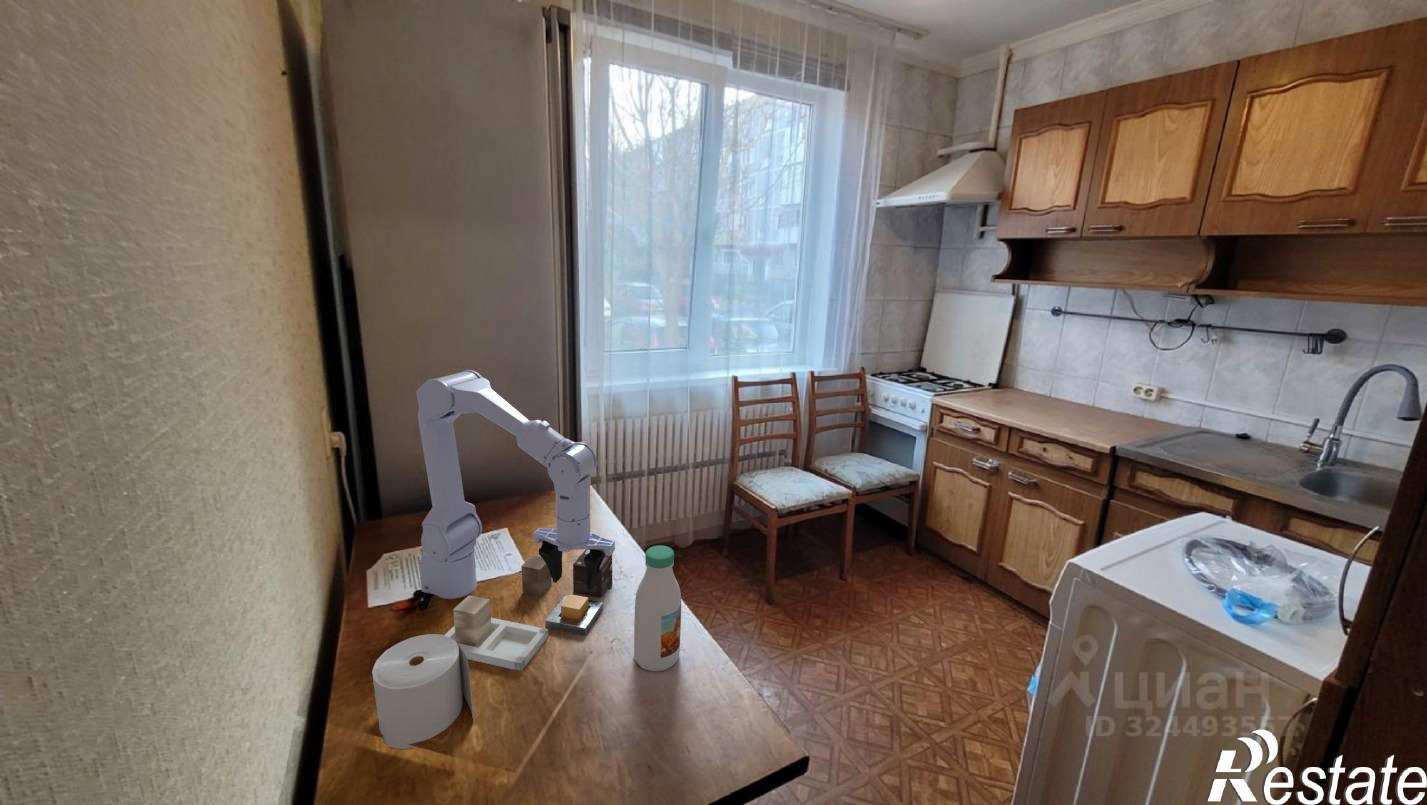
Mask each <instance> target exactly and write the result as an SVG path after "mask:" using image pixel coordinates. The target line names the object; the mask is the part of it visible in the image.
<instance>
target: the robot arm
mask: <svg viewBox="0 0 1427 805" xmlns="http://www.w3.org/2000/svg"><path fill="white" fill-rule="evenodd" d="M415 392H416V398H417V399H416V400H417V404H418V409H417V410H418V411H417V420H418V425H419V426H418V427H419V432H420V433H419V434H420V440H421V444H422V445H421V446H422V449H423V450H422V451H423V458H424V462H425V468H426V469H425V470H426V474H427V482H428V487H429V493H430V500H431V504H432V506H431V509H430V510H429V512H428V514H427V515H426V516H425V518H424V520H423V521H422V524H421V526H422V534H421V539H420V543H421V548H422V550H423V554H422V556H421V558H420V562H419V566H418V567H419V578H420V588H421V592H423V593H427V594H432V595H435V596H437V597H439V598H440V599H445V600H446V599H448V600H453V599H458V598H463V597H466V596H469V594H471V593H472V592H474V591H475V589H476V588H477V585H478V583H477V570H476V569H477V568H476V567H477V566H476V558H475V557H476V554H475V546H476V545H477V539H478V538H479V537H480V536H481V534H482V532H483V525H482V521H481V520H480V517H479V516H478V514H477V511H476V506H475V505H474V504H473V503H470V502H468V501H466V500H465V494H464V489H463V488H464V487H463V481H462V474H461V467H460V462H459V461H460V460H459V454H458V447H457V440H456V433H455V426H454V422H455V421H456V420H457V419H458V418H459V417H460V416H461V415H464V414H466V415H467V414H479V415H481V416H482V417H485V419H487V420H489V421H491V422H492V423H493V424H495V425H497V426H499V427H501V428H502V429H503V430H505V431H507V432H508V433H510V434H512V435H513V436H515V438H516V444H517V447H518V448H519V449H521V451H524V453H526V454H528V455H529V456H531V457H532V458H533V459H534V460H536V461H538V462H539V463H540V464H541V465H543V466H544V467H546V469H547V474H548V476H549V478H550V480H551V481H552V483H553V485H554V486H553V487H554V488H553V490H554V492H555V512H556V514H555V520H556V525H555V526H556V528H541V527H537V529H536V530H535V531H534V532H533V535H532V536H533V537H532V538H533V543H534V544H540V543H541V546H540V547H539V549H538V555H539V557H542V558H543V560H544V561H545V563H546V565H547V567H548V569H549V571H550V574H551V581H552V583H555V584H556V583H558V582H559V581H560V579H561V578H562V577H563V552H564V553H569V552H570V551H575V550H576V551H577V550H590V552H589V553H588V554H587V555H586V557H585V558H584V562H585V566H586V571H587V588H588V589H592V588H593V587H594V585H595V584H596V579H597V575H598V571H599V568H600V566H601V563H602V561H603V559H604V557H605V555H608V556H611V554H612V555H613V553H614V551H615V550H616V549H615V547H616V543H615V542H616V541H615V540H613V539H609V538H606V537H604V536H602V535H599V534H596V533H594V532H591V475H590V474H591V473H592V472H593V471H594V470H595V468H596V466H597V457H596V456H597V455H596V454H595V452H594V451H593V449H592V448H591V447H590V446H589V445H588V444H587V443H586V442H581V441H579V442H578V441H577V442H575V441H573V440H570V439H569V438H566V437H564V436H563V435H562V434H561V433H560V432H557V430H555V429H553V428H552V427H550V426H551V424H550V423H549V422H548V421H546V420H541V419H534V420H530V419H528V418H527V417H526V416H524V415H523V413H522V412H520V411H519V410H518V409H516V408H515V407H513V405H512V404H510V403H509V402H508V401H507V400H506V399H504V398H503V397H502V396H501V395H499V394H498V393H497V392H496V391H494V390H493V388H492V387H491V383H490V381H489V380H488V379H487V378H485V377H483V376H482V375H481V374H480V373H479V372H477V371H475V370H472V369H466V370H462V371H461V372H458V373H454V374H453V373H452V374H449V375H446V376H445V375H444V376H442V377H441V376H440V377H438V378H429V379H428V380H426V381H425V382H424V383H422V385H420V387H418V388H417V390H415Z"/></svg>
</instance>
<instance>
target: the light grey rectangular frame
mask: <svg viewBox="0 0 1427 805" xmlns="http://www.w3.org/2000/svg"><path fill="white" fill-rule="evenodd" d="M491 627H492V634H491V635H490V636H489V637H488V638H487V639H486V640H485V641H484V642H483V644H482V645H481V646H480V647H479V648H477V647H473V646H468V645H464V644H459V643H457V644H458V645H459V646H460V647H461V648H462V650H463V651H464V652H465V656H466V657H467V660H468V661H474V662H479V663H483V664H487V665H492V666H496V667H499V668H506V669H510V670H514V671H519V672H522V671H523V670H524V669H525V668H526V667H527V664H529V663H530V662H531V660H532V658H533V657H534V656H535V655H536V653H537V652H538V651H539V650H540V648H541V647H542V646H543V644H544V643H545V642H546V640H547V639H548V638H549V628H544V627H539V626H533V625H529V624H524V623H520V622H514V621H509V620H504V619H500V618H494V617H491ZM444 636H448V637H450V638H452V639H453V640H454V641H455V642H456V636H455V624H454V625H453V626H452V627H451V628H450V629H449V630H448V631H447V632H446V633H445V634H444Z"/></svg>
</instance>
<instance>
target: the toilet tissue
mask: <svg viewBox="0 0 1427 805" xmlns="http://www.w3.org/2000/svg"><path fill="white" fill-rule="evenodd" d="M444 635H445V634H444ZM444 635H443V634H437V633H434V634H433V633H432V634H431V633H430V634H423V635H422V634H421V635H417V636H412V637H409V638H407V639H404V640H402V641H400V642H398V643H395V644H394V645H393V646H391V647H390V648H387V649H386V650H384V652H383V653H382V654H381V655H380V656H379V657H378V658H377V659H376V660H375V663H374V666H373V668H372V671H371V673H372V681H373V682H372V684H373V687H374V696H375V697H374V698H375V702H376V712H377V714H376V715H377V719H378V729H379V732H380V734H381V736H382V737H381V739H382V740H383V743H384V744H385V745H387V746H389V747H391V748H393V749H399V750H400V749H401V750H405V749H406V750H408V749H415V748H417V745H416V746H415V745H413V744H416V743H420V742H423V741H424V742H425V741H428V740H430V739H432V738H433V737H435V736H437V735H439V734H441V733H443V732H444V731H445V730H446V729H448V728H449V727H450V726H451V725H452V724H453V723H454V722H455V720H457V718H458V717H459V715H461V712H462V708H463V704H464V699H465V701H466V703H467V704H468V707H469V709H470V712H471V714H472V717H474V711H473V710H474V709H473V699H472V695H473V694H472V686H471V674H470V665H469V659H467V657H466V656H465V652H464V651H463V650H462V648H461V647H460V646H459V645H458V644H457V643H456V642H455V641H454V640H453V639H452V638H450V637H448V636H444ZM463 697H464V698H463Z"/></svg>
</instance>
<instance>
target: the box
mask: <svg viewBox="0 0 1427 805" xmlns="http://www.w3.org/2000/svg"><path fill="white" fill-rule="evenodd" d="M589 552H590V550H586V549H584V551H583V552H582V553H581V555H579V556H578V558H577V559H576V560H575V561H574V563H573V564H572V582H573V583H572V588H573V590H572V591H573V594H575V595H576V594H577V595H581V596H586V597H587V596H588V597H593V598H602V597H603V595H604V594H605V593H606V592H607V590H610V589H611V588H612V586H613V553H612V554H611V556H608V555H605V557H604V559H603V561H602V563H601V566H600V568H599V571H598V575H597V579H596V584H595V585H594V587H593V588H592V589H588V588H587V571H586V566H585V562H584V558H585V557H586V555H587V554H588V553H589Z"/></svg>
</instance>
